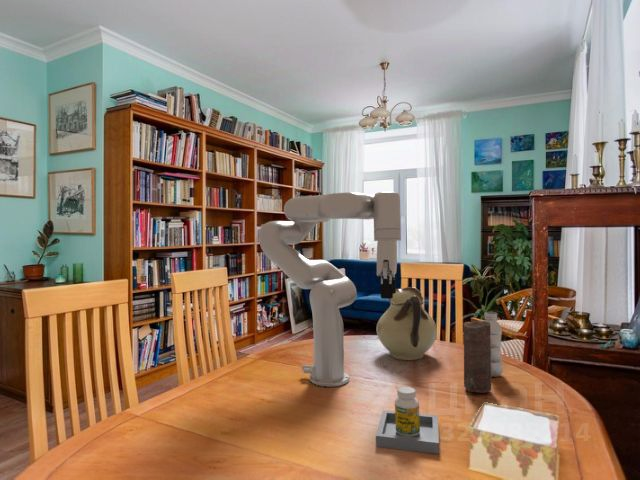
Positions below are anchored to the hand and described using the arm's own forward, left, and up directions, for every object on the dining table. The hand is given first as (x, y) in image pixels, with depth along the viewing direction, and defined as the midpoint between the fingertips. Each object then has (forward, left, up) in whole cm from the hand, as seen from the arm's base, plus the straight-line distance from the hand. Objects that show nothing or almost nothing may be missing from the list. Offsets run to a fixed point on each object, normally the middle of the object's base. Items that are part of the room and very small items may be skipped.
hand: (388, 295), depth 112 cm
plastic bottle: (+30, +23, -28) cm, 47 cm away
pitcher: (+3, +39, -28) cm, 48 cm away
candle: (+24, +8, -28) cm, 38 cm away
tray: (+6, -22, -28) cm, 36 cm away
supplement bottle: (+6, -22, -28) cm, 36 cm away
